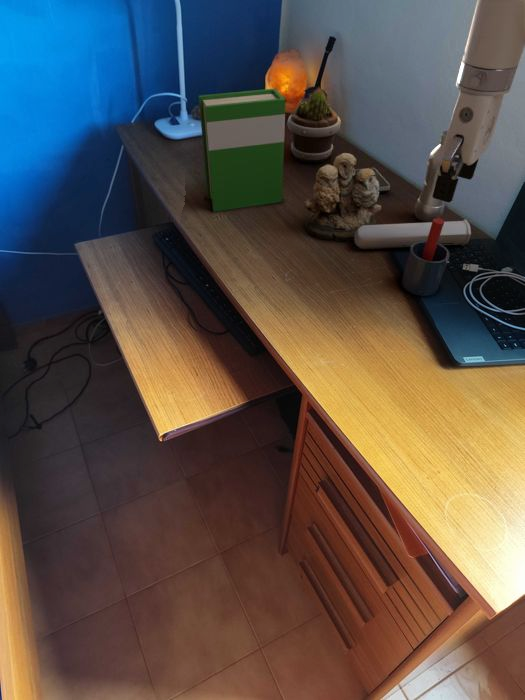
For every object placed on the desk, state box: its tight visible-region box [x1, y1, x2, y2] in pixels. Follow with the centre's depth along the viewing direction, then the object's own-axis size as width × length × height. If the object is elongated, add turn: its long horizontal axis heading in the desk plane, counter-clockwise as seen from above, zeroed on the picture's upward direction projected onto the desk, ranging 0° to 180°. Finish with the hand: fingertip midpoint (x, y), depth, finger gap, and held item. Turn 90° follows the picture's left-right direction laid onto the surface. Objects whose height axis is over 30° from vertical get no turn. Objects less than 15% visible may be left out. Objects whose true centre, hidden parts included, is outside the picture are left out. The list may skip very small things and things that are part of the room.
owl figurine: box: [303, 152, 382, 242], centre depth 103 cm, size 18×12×17 cm, turn 101°
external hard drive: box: [354, 167, 391, 194], centre depth 123 cm, size 7×11×2 cm, turn 13°
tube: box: [353, 219, 472, 250], centre depth 103 cm, size 5×5×25 cm
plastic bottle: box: [413, 130, 459, 223], centre depth 105 cm, size 6×7×20 cm
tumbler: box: [401, 241, 450, 297], centre depth 92 cm, size 7×7×8 cm
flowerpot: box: [286, 85, 342, 164], centre depth 129 cm, size 14×15×20 cm
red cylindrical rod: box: [421, 217, 445, 261], centre depth 89 cm, size 2×2×14 cm
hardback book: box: [198, 88, 287, 212], centre depth 110 cm, size 18×7×24 cm, turn 106°
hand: (452, 188), depth 80 cm, fingers open, 9 cm apart
